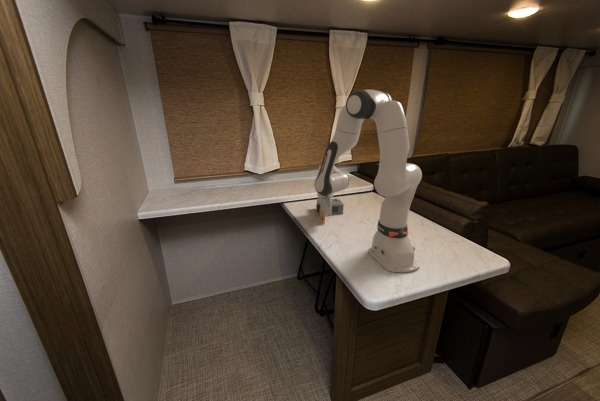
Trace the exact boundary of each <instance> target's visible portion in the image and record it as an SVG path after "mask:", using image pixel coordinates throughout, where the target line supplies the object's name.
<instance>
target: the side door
mask: <svg viewBox="0 0 600 401" xmlns="http://www.w3.org/2000/svg"><path fill="white" fill-rule="evenodd" d="M318 216H319V217H320V219H321V221H322V222H321V223H322V224H325V223H326V221H325V220H326V217H325V214H324V213H323V211H322V208H321V207H319V212H318Z"/></svg>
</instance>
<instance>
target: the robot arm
mask: <svg viewBox="0 0 600 401" xmlns="http://www.w3.org/2000/svg"><path fill="white" fill-rule="evenodd" d="M365 120H373V121H374V122H375V126H376V132H377V139H378V146H379V163H378V171H377V174H376V176H375V179H374V183H373V184H374V189H375V191H376V192H377V193H378V195H380V196H382V197H384V199H383V201H382V202H381V205H380V213H379V219H378V220H377V221H378V222H377V226H376V228H377V230H376V232H375V233H374V234H373V237H372V243H371V247H370V248H369V249H368V251H367V252H368V253H369V255H370V256H371V257H372V258H373V259H374V260H375V261H377V263H379V264H380V265H381V267H383V268H384V269H385V270H386V271H388V272H392V273H411V272H415V271H417V270H419V269H420V265H419V263H418V261H417V260H416V258H415V251H416V246H415V245H412V242H411V239H410V238H409V236H408V235H409V228H408V218H409V212H410V207H411V204H412V202H413V199H414V196H415V194H416V190H417V188H418V185H419V184H420V182H421V180H422V178H423V173H422V169H421V168H420V167H419V165H417V164H414V163H410V162H407V161H408V153H409V151H410V149H411V148H410V147H411V146H410V139H409V138H410V137H409V132H408V125H407V124H408V122H407V118H406V114H405V111H404V108H403V106H402V103H401V102H399V101H397V100H393V99H392V96H391V95H390V94H389V93H388V92H387V91H384V90H376V89H357V90H355V91H353V92H352V93H350V94H349V95H348V96H347V99H346V100H345V105H343V106H342V107H341V110H340V112H339V115H338V117H337V121H336V125H335V126H336V127H335V131H334V134H333V137H332V138H331V141H330V142H329V143H328V145H327V147H326V149H325V152H324V155H323V158H322V162H321V163H320V164H319V166H318V169H317V175H316V177H315V180H314V189H315V191H316V196H317V198H318V199H317V200H319V203H320V205H321V207H322V211H323V213H324V214H325V218H326V217H327V216H331V215H333V214H332V201H331V199H332V198H333V197H334V193H338V192H342V191H344V190H346V189H348V187H349V185H350V177H349V176H348V174H347V173H346V172H345V171H342V170H340V169H339V168H338V167H336V166H335V164H336V162H337V161H338V159H339V158H340V157H341V156H342V155H344V154H346V153H348V151H350V150H352V149H353V148H354V147H356V146H357V144H358V141H359V138H360V134H361V129H362V125H363V123H364V121H365Z"/></svg>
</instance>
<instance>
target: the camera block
mask: <svg viewBox="0 0 600 401" xmlns="http://www.w3.org/2000/svg"><path fill="white" fill-rule="evenodd" d="M331 201H332V214H331V215H343V214H344V205H345V204H344V203H343V201H341V199H340V198H339V197H335V198H331ZM319 207H321V205H320V203H319V200H318V199H316V204H315V208H316V209H315V210H316V212H318V213H319ZM321 208H322V207H321Z"/></svg>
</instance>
